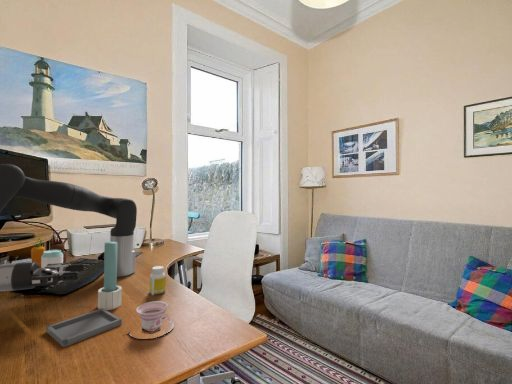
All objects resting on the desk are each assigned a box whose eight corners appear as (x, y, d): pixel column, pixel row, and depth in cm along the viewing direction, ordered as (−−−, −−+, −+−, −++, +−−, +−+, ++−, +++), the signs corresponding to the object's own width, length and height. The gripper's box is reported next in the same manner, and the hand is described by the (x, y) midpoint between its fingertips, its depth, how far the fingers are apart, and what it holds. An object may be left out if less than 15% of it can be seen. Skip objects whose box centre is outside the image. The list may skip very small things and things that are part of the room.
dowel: (112, 302, 91) (113, 241, 90) (118, 304, 89) (119, 242, 88) (101, 305, 88) (102, 242, 88) (106, 308, 86) (108, 244, 85)
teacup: (146, 346, 68) (147, 321, 68) (118, 331, 74) (118, 309, 74) (183, 326, 78) (183, 304, 78) (155, 315, 85) (156, 295, 84)
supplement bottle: (168, 292, 102) (168, 266, 102) (158, 298, 97) (159, 270, 96) (156, 290, 104) (156, 264, 103) (146, 296, 98) (146, 268, 98)
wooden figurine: (47, 270, 124) (47, 237, 124) (49, 266, 129) (50, 234, 129) (65, 268, 127) (66, 236, 127) (67, 265, 132) (67, 234, 132)
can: (67, 278, 114) (67, 249, 114) (52, 284, 107) (53, 253, 107) (51, 277, 115) (51, 248, 115) (36, 283, 108) (36, 252, 108)
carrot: (37, 274, 118) (37, 239, 117) (27, 273, 119) (28, 239, 118) (48, 271, 122) (48, 237, 122) (38, 270, 123) (39, 237, 123)
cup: (114, 301, 93) (115, 284, 93) (125, 307, 89) (125, 288, 89) (94, 308, 88) (94, 289, 87) (104, 314, 84) (104, 294, 84)
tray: (102, 315, 83) (102, 308, 83) (121, 327, 77) (121, 319, 77) (46, 335, 72) (46, 326, 72) (63, 350, 65) (63, 341, 65)
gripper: (3, 270, 72) (76, 265, 78) (25, 257, 85) (85, 253, 92) (3, 299, 72) (76, 291, 79) (25, 281, 86) (85, 276, 92)
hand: (81, 271), depth 85 cm, fingers open, 8 cm apart
